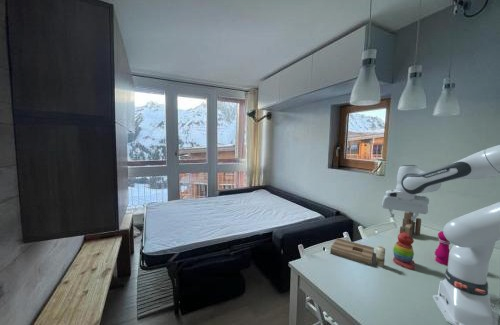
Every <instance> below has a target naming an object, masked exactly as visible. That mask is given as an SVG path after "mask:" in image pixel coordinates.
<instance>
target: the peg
mask: <svg viewBox="0 0 500 325" xmlns="http://www.w3.org/2000/svg"><path fill="white" fill-rule="evenodd" d="M385 256H386V248H384V247H383V246H376V255H375V265H376V267H379V268H384V267H385V259H386V258H385Z"/></svg>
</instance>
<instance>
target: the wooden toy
mask: <svg viewBox="0 0 500 325" xmlns="http://www.w3.org/2000/svg"><path fill="white" fill-rule="evenodd" d="M414 215H415V214H414V213H413V212H406V211H404V215H403V218H402V224H401V225H402V226H400V228H399V234H400V233H403V232H405V233H406V234H409V235H410V236H411V237H412V235H416V236H421V227H422V218H419V217H416V218H415V221H413V220H411V216H412V217H413V216H414Z"/></svg>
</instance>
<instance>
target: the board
mask: <svg viewBox="0 0 500 325" xmlns="http://www.w3.org/2000/svg"><path fill="white" fill-rule="evenodd" d="M374 249H375V247H373V246H369V245H365V244H361V243H358V242H354V241H350V240H347V239H343V238H338V237H337V238H336V239H335V240H334V242H333V243H332V244H331V247H330V250H329V252H330V253H329V254H330V255H334V254H335V256H337V255H338V257H340V256H342V257H341V258H345V259H347V260H350V261H354V262H357V263H360V264H363V265H367V266H370V267H371V266H372V262H373V257H374V251H375V250H374Z"/></svg>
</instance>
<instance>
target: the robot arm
mask: <svg viewBox="0 0 500 325" xmlns="http://www.w3.org/2000/svg"><path fill="white" fill-rule="evenodd" d="M494 177H500V144H498V145H495V146H491V147H488V148H485V149H483V150H480V151H478V152H475V153H472V154H470V155H468V156H466V157H464V158H461V159H459V160H456V161H454V162H452V163H450V164H446V165H443V166H440V167H438V168H434V169H431V170H428V171H426V170H424V169H421V168H420V167H419V166H418V165H415V164H403V165H401V166H399V167H398V171H397V175H396V185H395V189H389V190H386V191H385V195H383V197H382V201H381V207H382V209H386V210H388V212H389V213H390V214H389V216H390V218H395V213H393V210H394V211H400V212H405V211H406V212H413V213H414V215H413V217H412V216H411V220H413V221H414V222H416V218H418V217H419V215H420V214H421V215H426V214H428V213H429V206H428V205H429V203H430V199H429V197H427V196H424V195H423V196H422V195H418V194H424V193H425V194H426V193H433V192H436V191H438V190H439V189H440V188H441V186H442V183H446V182H449V181H454V180H455V181H456V180H475V179H476V180H480V179H489V178H494ZM442 229H443V230H442V231H443V233H444V236H445V238H446V239H447V240H448V241H449V242H450V244H452V247H451V248H450V249H449V250H450V252H449V260H448V265H447V268H446V269H445V274H444V279H443V280H440V281H439V285H438V293H437V294H432V300H433V301H434V302H435V305H436V306H437V307H438V309H439V311H440V312H441V314H442V316H443V317H444V319H445V320H446V322H447V323H449V324H450V325H499V322H498V321H499V317H500V316H499V313H498V312H496V311H493V310H492V308H495V304H494V303H493V302H491V295H490V294H489V283H488V281H487V280H488V274H489V273H488V272H489V265H490V260H491V258H492V255H493V252H494V248H495V245H496V242H497V241H500V201H498V202H496V203H493V204H490V205H487V206H485V207H482V208H479V209H476V210H474V211H471V212H469V213H466V214H463V215H461V216H458V217H455V218H453V219H451V220H449V221H448V222H447V223H446V224H445V225H444V226H443V228H442Z"/></svg>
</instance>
